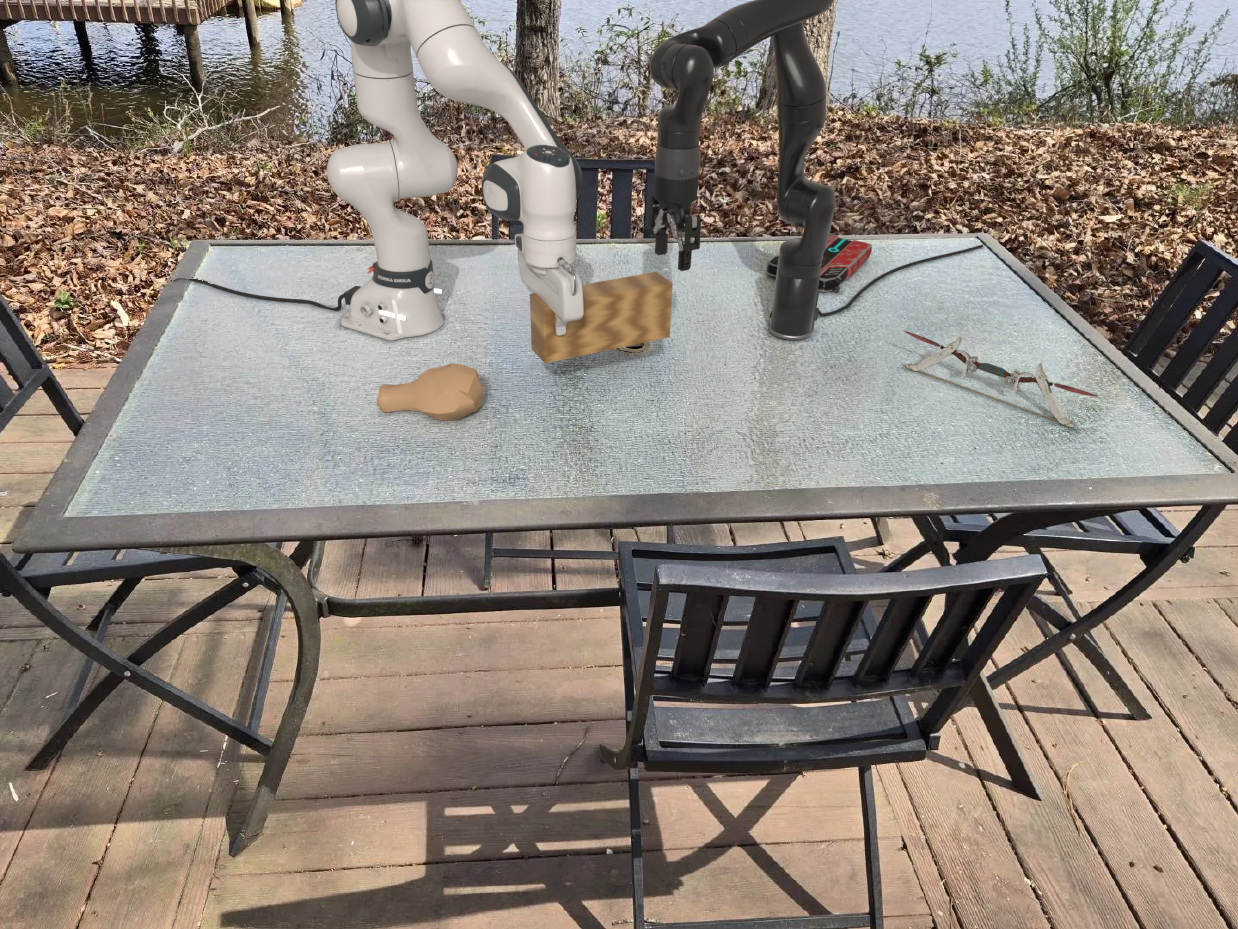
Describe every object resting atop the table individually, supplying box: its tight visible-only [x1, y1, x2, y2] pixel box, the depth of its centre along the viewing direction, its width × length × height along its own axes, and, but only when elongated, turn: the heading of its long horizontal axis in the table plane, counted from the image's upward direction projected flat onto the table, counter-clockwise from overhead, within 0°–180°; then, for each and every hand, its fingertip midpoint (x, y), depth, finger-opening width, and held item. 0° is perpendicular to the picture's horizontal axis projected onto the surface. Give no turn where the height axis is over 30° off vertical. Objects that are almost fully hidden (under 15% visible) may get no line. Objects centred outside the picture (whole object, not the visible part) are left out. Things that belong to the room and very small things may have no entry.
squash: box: [376, 362, 485, 422], centre depth 161 cm, size 11×20×9 cm, turn 90°
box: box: [529, 271, 674, 364], centre depth 158 cm, size 25×6×11 cm, turn 117°
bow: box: [903, 330, 1099, 428], centre depth 171 cm, size 39×2×10 cm, turn 47°
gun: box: [765, 233, 873, 293], centre depth 228 cm, size 4×31×19 cm
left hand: (551, 324), depth 154 cm, fingers closed on box, 6 cm apart
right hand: (672, 261), depth 159 cm, fingers open, 8 cm apart
